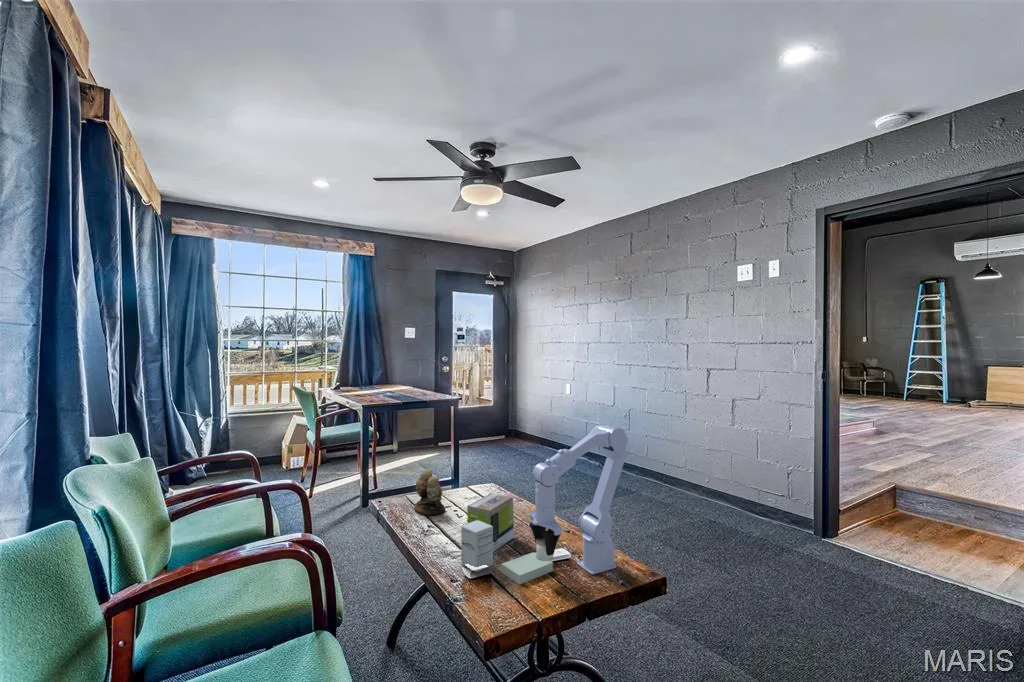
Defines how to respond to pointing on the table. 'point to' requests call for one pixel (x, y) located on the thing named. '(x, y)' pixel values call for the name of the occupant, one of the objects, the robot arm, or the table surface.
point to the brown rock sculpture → (429, 495)
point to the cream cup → (542, 550)
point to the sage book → (526, 568)
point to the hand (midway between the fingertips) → (545, 550)
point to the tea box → (494, 516)
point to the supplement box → (477, 544)
